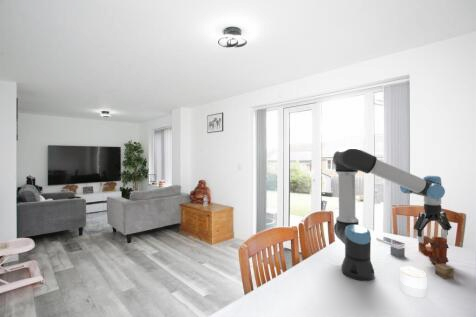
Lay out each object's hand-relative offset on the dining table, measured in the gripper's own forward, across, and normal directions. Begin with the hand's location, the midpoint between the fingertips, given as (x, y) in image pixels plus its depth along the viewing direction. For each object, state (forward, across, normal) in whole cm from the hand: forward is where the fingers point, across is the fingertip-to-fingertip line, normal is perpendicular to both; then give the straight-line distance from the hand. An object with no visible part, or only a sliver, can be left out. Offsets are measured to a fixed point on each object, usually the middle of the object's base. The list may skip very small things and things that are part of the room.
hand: (432, 241), depth 131 cm
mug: (+12, 0, 0) cm, 12 cm away
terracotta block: (+12, +8, +13) cm, 19 cm away
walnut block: (+12, -6, -13) cm, 19 cm away
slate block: (+12, -11, +12) cm, 20 cm away
